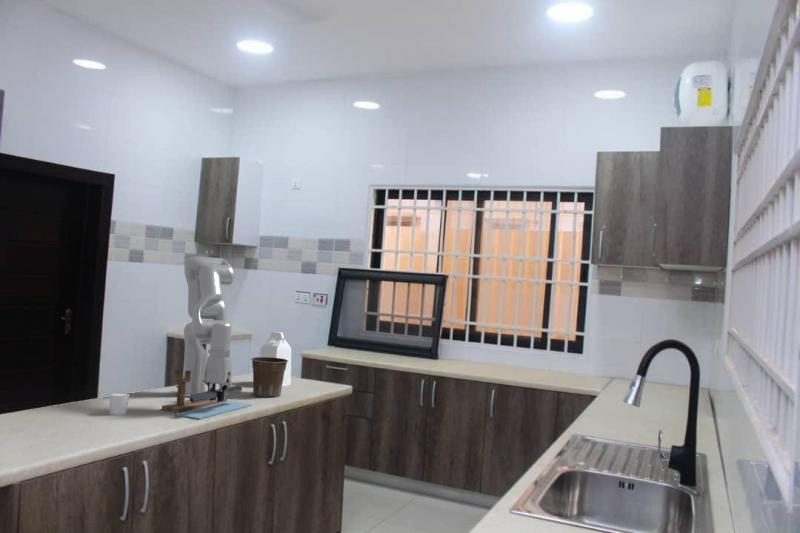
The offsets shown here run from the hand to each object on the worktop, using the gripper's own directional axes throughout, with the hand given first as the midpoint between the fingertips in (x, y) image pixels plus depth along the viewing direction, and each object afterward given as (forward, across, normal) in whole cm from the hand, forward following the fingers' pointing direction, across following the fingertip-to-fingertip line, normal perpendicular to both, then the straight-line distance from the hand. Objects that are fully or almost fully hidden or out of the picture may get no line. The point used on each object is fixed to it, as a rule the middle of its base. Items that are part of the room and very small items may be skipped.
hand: (216, 400), depth 247 cm
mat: (+4, 0, 0) cm, 4 cm away
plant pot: (+4, -3, +39) cm, 39 cm away
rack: (+4, -12, +2) cm, 13 cm away
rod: (-1, 0, 0) cm, 1 cm away
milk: (+4, -15, +62) cm, 64 cm away
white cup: (+4, -24, -26) cm, 35 cm away
